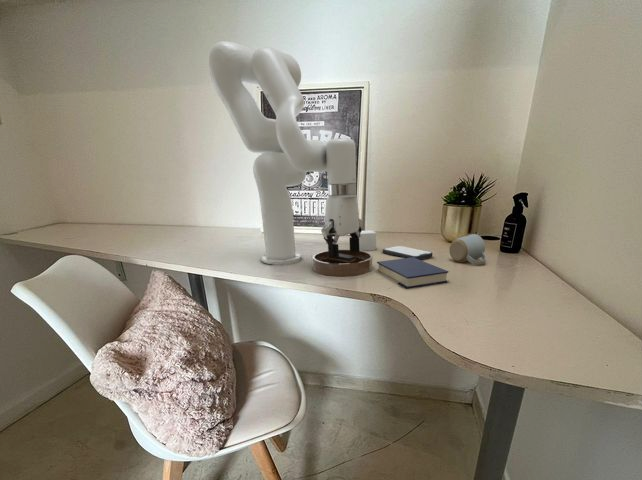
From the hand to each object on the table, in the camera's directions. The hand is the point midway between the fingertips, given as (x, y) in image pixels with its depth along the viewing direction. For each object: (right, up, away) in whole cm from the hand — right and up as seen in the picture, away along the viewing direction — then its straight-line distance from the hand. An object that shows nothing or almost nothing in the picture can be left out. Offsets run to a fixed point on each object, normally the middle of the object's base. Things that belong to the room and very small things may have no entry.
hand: (344, 254), depth 95 cm
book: (+18, -7, -5) cm, 20 cm away
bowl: (0, -4, +2) cm, 5 cm away
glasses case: (-1, -3, +2) cm, 4 cm away
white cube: (+8, +7, +27) cm, 29 cm away
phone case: (+21, +3, +17) cm, 27 cm away
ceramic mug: (+39, -1, +8) cm, 40 cm away
